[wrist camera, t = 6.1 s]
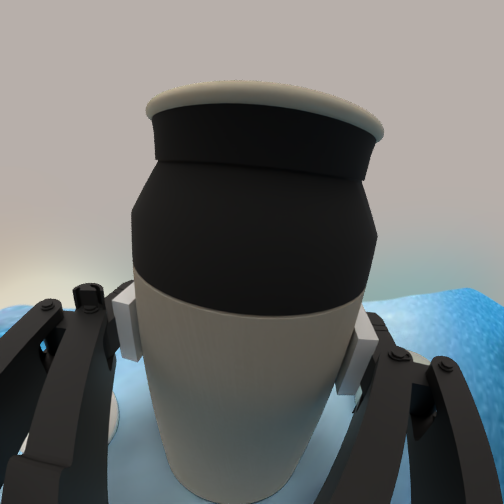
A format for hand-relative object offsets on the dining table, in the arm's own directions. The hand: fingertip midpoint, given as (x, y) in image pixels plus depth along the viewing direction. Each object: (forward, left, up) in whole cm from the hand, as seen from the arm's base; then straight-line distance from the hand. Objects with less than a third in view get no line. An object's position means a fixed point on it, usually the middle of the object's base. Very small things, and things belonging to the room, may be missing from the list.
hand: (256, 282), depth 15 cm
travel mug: (+4, +3, -10) cm, 11 cm away
